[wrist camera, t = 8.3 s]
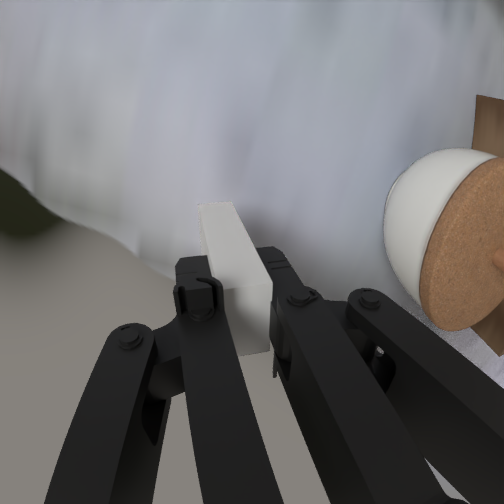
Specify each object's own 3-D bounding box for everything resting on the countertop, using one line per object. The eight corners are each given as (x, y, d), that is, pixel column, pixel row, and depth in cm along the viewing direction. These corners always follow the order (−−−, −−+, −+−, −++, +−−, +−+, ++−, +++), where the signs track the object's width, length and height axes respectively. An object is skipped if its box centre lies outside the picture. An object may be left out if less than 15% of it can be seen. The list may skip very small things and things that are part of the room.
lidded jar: (418, 99, 17) (539, 126, 9) (479, 191, 22) (564, 239, 14) (324, 226, 20) (415, 317, 12) (407, 290, 25) (478, 364, 16)
